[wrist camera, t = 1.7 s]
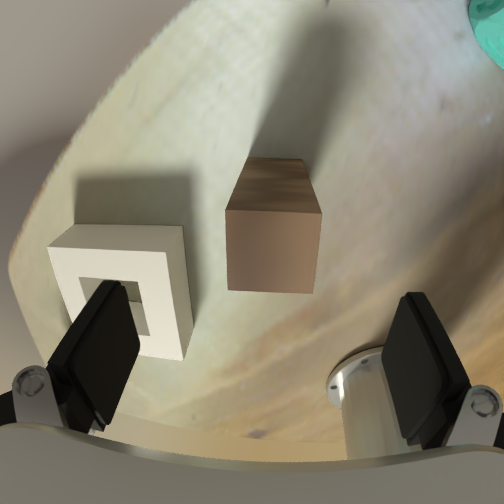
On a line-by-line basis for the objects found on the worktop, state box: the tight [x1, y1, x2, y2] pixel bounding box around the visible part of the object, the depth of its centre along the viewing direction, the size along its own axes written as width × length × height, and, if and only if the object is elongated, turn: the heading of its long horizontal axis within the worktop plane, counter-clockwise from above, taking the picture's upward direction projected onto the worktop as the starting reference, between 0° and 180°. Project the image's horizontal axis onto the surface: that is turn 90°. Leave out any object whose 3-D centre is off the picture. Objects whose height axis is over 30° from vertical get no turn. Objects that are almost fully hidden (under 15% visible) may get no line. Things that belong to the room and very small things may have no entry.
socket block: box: [47, 224, 194, 361], centre depth 29 cm, size 12×12×5 cm
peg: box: [225, 158, 322, 294], centre depth 21 cm, size 4×4×12 cm
